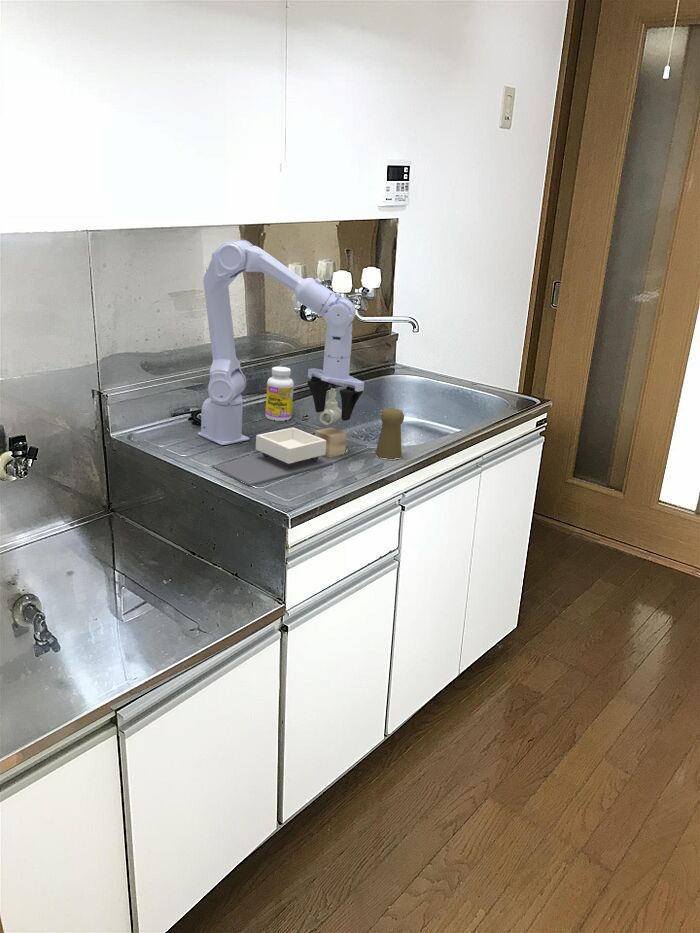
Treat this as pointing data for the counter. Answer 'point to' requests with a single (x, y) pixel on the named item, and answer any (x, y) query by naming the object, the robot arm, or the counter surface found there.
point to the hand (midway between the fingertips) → (332, 415)
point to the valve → (331, 408)
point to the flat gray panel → (267, 468)
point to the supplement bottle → (279, 394)
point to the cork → (390, 434)
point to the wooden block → (333, 441)
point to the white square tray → (291, 445)
